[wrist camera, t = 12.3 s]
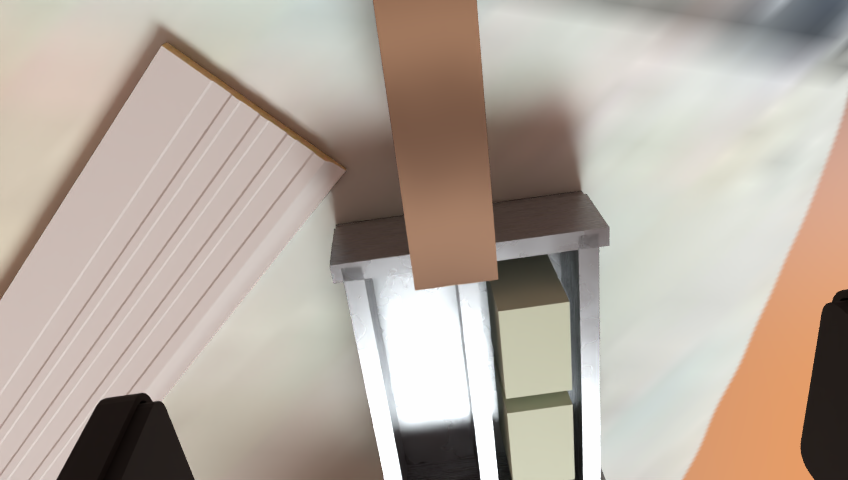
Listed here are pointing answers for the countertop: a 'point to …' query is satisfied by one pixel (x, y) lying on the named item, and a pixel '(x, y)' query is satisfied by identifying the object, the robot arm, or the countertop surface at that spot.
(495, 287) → the offcut
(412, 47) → the walnut board
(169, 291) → the baseboard
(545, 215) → the rack
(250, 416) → the countertop surface
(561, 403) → the offcut
